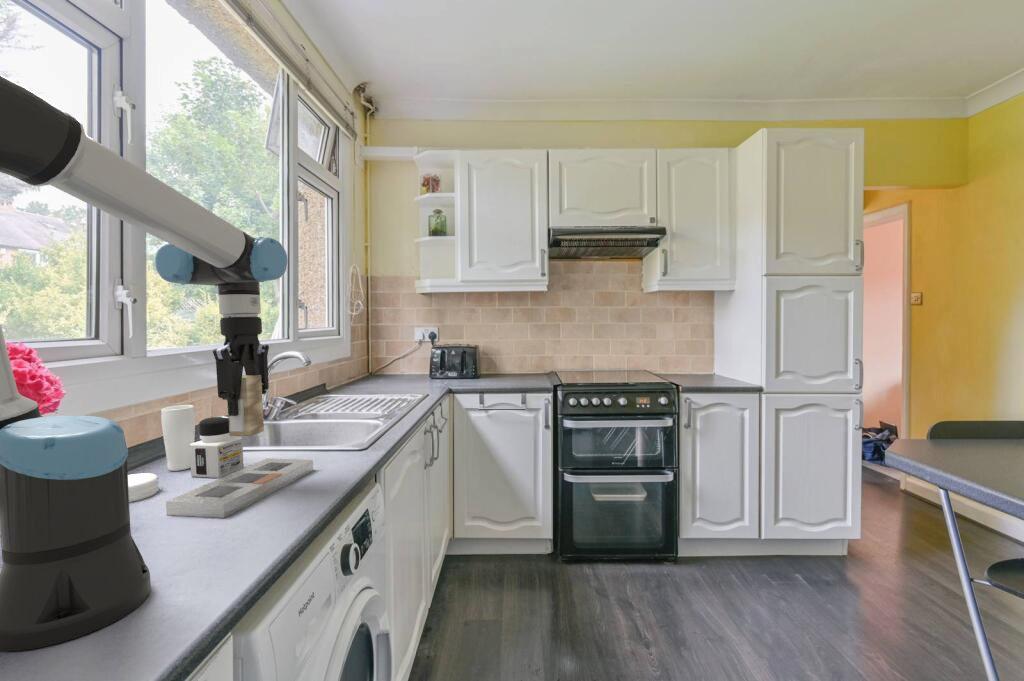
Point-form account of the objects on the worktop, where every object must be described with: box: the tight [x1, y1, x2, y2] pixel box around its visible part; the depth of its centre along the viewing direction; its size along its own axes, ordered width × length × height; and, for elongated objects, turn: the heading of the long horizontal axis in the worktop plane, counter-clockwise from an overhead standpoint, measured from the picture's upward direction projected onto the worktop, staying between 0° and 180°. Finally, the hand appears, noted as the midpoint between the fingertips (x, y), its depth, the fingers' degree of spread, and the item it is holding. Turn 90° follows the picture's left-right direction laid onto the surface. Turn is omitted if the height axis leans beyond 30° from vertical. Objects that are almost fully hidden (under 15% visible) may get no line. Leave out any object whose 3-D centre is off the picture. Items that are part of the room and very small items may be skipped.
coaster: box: [128, 472, 160, 503], centre depth 101 cm, size 10×10×4 cm
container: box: [190, 416, 245, 479], centre depth 116 cm, size 8×8×13 cm
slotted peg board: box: [165, 458, 314, 519], centre depth 103 cm, size 28×12×3 cm, turn 170°
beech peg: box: [228, 374, 265, 437], centre depth 103 cm, size 4×4×12 cm
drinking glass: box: [160, 404, 196, 472], centre depth 120 cm, size 7×7×15 cm
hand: (246, 427), depth 103 cm, fingers closed on beech peg, 4 cm apart
